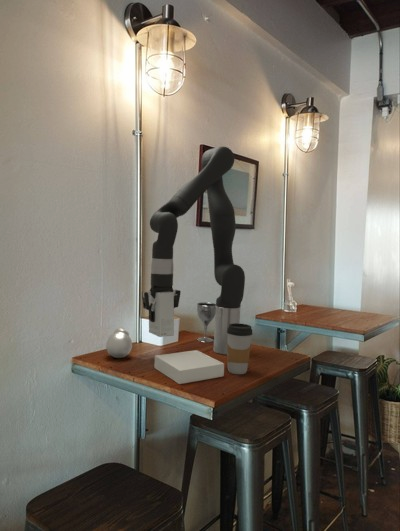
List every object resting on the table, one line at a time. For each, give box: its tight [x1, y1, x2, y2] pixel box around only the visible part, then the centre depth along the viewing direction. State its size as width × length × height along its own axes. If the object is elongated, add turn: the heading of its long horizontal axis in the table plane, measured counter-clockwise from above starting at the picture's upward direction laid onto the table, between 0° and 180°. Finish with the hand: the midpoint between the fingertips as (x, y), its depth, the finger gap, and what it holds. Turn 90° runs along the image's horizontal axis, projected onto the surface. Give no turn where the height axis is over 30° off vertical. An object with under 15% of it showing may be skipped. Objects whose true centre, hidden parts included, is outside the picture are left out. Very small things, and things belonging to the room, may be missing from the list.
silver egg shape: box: [105, 327, 133, 359], centre depth 145 cm, size 9×10×10 cm
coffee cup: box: [226, 323, 254, 375], centre depth 137 cm, size 8×8×15 cm
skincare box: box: [148, 291, 175, 338], centre depth 144 cm, size 8×6×15 cm
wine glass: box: [196, 302, 216, 343], centre depth 174 cm, size 8×8×15 cm
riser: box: [154, 349, 225, 385], centre depth 134 cm, size 16×16×4 cm
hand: (160, 320), depth 144 cm, fingers closed on skincare box, 6 cm apart
